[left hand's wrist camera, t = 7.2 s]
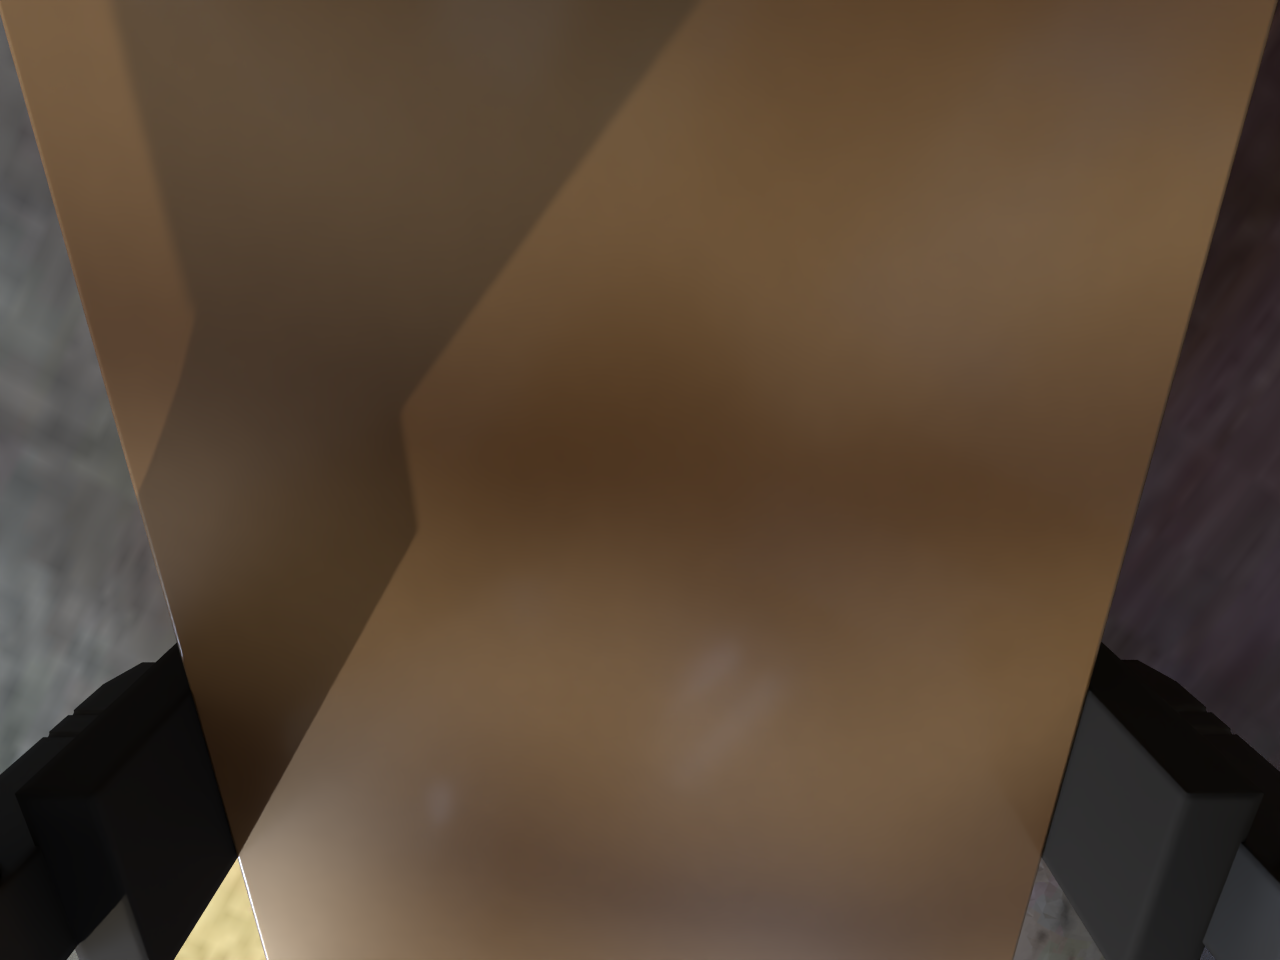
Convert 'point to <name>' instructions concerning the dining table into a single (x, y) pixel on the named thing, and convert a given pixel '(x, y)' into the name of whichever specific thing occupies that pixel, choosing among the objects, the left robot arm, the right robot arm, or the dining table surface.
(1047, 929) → the decorative stone
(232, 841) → the left robot arm
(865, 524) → the cabinet
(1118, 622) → the dining table surface
